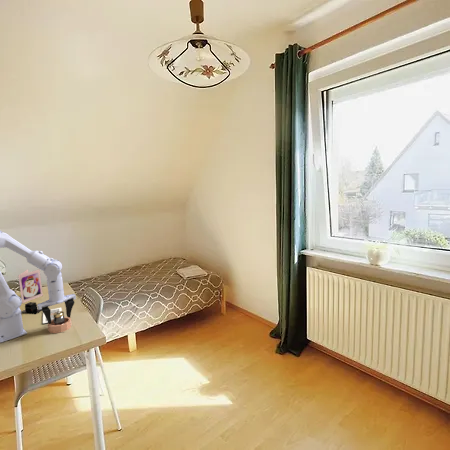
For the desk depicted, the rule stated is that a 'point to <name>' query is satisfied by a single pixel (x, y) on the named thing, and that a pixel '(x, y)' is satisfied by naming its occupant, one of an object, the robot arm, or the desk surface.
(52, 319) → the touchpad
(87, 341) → the desk surface
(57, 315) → the battery
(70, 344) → the desk surface
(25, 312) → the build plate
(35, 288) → the greeting card
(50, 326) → the peach round shallow bowl
